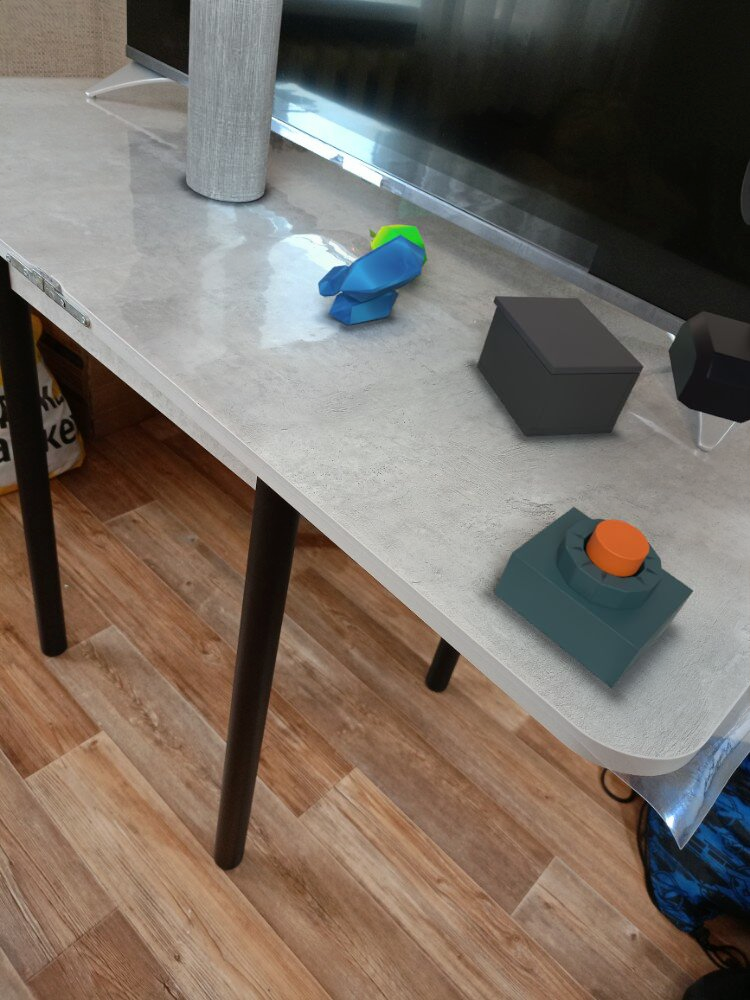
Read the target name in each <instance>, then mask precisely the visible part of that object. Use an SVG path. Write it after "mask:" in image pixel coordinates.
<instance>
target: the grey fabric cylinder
mask: <svg viewBox="0 0 750 1000" xmlns="http://www.w3.org/2000/svg"><path fill="white" fill-rule="evenodd" d="M189 1H190V2H189V35H188V36H189V40H188V41H189V42H188V43H189V44H188V47H189V48H188V78H187V79H188V80H187V81H188V82H187V119H186V122H187V123H186V125H187V126H186V163H185V173H186V174H185V177H186V178H185V179H186V180H185V181H186V184H187V186H188V187H189V188H191V190H192V191H194V192H195V193H197V194H198V195H200V196H203V197H205V198H209V199H211V200H215V201H220V202H225V203H248V202H254V201H256V200H258V199H260V198H261V197H263V196H264V194H265V190H266V184H267V174H268V162H269V152H270V143H271V142H270V141H271V133H272V131H271V130H272V121H273V110H274V109H273V108H274V100H275V99H274V98H275V89H276V87H275V86H276V80H277V79H276V78H277V69H278V68H277V67H278V57H279V56H278V55H279V47H280V45H279V44H280V35H281V25H282V15H283V4H284V0H189Z"/></svg>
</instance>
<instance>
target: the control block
mask: <svg viewBox="0 0 750 1000" xmlns="http://www.w3.org/2000/svg"><path fill="white" fill-rule="evenodd" d="M605 520H606V519H604V518H594V519H593V518H591V517H589V515H586V514H585V513H584V512H583V511H581V510H580V509H578V508H577V507H575V506H572V507H571V508H570V509H568V510H567V511H566V512H565V513H563V514H562V515H561V516H559V517H558V518H557V519H555V520H554V521H553V522H551V523H550V524H548V525H547V526H546V527H544V528H543V529H542V530H540V531H539V532H538V533H536V534H535V535H534V536H532V537H531V538H530V539H528V540H527V541H526V542H524V543H523V544H522V545H520V546H519V547H517V549H515V550H514V551H512V552H511V554H510V557H509V559H508V560H507V562H506V565H505V567H504V569H503V572H502V574H501V576H500V579H499V580H498V582H497V585H496V587H495V590H494V591H493V593H494V595H496V596H497V597H499V599H501V600H502V601H503V602H504V603H506V604H507V605H508V606H509V607H510V608H512V609H513V610H515V611H516V612H517V613H518V614H519V615H521V616H522V617H523V618H524V619H525V620H527V621H528V622H529V623H531V624H532V625H533V626H534V627H535V628H536V629H538V630H539V631H541V632H542V633H543V634H544V635H545V636H547V637H548V638H549V639H550V640H551V641H553V642H554V643H555V644H557V645H558V646H559V647H561V648H562V649H563V650H564V651H565V652H566V653H567V654H569V655H570V656H571V657H573V658H574V659H575V660H576V661H578V663H580V664H582V665H583V666H584V667H585V668H586V669H587V670H589V671H590V672H591V673H592V674H594V675H595V676H596V677H597V678H599V679H600V680H601V681H603V682H604V683H605V684H606V685H607V686H609V687H610V688H611V689H612V688H614V687H615V686H616V685H617V683H618V682H619V681H620V680H621V679H622V678H623V677H624V676H625V675H626V673H627V672H628V671H630V669H631V668H632V667H633V666H634V665H635V664H636V663H637V662H638V661H639V659H640V658H642V656H644V654H645V653H646V652H647V651H648V650H649V649H650V647H652V645H654V643H655V642H656V641H657V640H658V638H659V637H660V636H661V635H662V634H663V633H664V632H665V631H666V630H667V629H668V627H669V626H670V624H671V623H672V622H673V620H674V619H675V617H676V616H677V615H678V614H679V612H680V611H681V609H682V608H683V607H684V605H685V604H686V602H687V601H688V599H690V596H691V595H692V594H693V592H694V590H693V588H691V587H689V586H688V585H686V584H685V583H684V582H683V581H681V580H680V579H678V578H677V577H675V576H674V575H672V574H671V573H670V572H668V571H667V570H665V569H664V568H663V567H662V559H661V558H660V555H658V553H657V552H656V550H654V548H653V547H652V545H651V543H650V542H649V541H648V543H649V553H648V555H647V556H646V558H645V559H644V561H643V563H642V564H641V566H640V567H639V569H638V571H637V572H636V573H635V574H633V575H631V576H627V577H619V576H615V575H611V574H608V573H606V572H604V571H603V570H601V569H600V568H598V567H597V566H596V565H594V564H593V562H592V561H591V560H590V559H589V557H588V554H587V551H586V547H587V543H588V541H589V540H590V538H591V536H592V534H593V532H594V530H595V528H596V527H597V525H598V524H599V523H601V522H602V521H605Z"/></svg>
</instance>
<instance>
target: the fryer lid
mask: <svg viewBox="0 0 750 1000" xmlns="http://www.w3.org/2000/svg"><path fill="white" fill-rule="evenodd" d="M493 304H494V305H495V306H496V307H498V309H499V310H500V311H501V312H502V314H503V315H504V316H505V317H506V318H507V320H508V321H509V322H510V323H511V325H512V326H513V327H514V328H515V330H516V331H517V332H518V333H519V335H520V336H521V337H522V338H523V340H524V341H525V342H526V343H527V344H528V346H529V347H530V348H531V349H532V351H533V352H534V353H535V354H536V356H537V357H538V358H539V359H540V361H541V362H542V363H543V364H544V366H545V367H546V368H547V369H548V370H549V372H550V373H551V374H586V373H640V374H641V373H642V371H643V369H644V365H643V364H642V363H641V362H640V361H639V360H638V359H637V358H636V357H635V356H634V355H633V354H632V352H630V351H629V349H628V348H627V347H626V346H625V345H623V343H622V342H621V341H620V340H619V339H618V338H617V337H616V335H614V334H613V333H612V332H611V331H610V330H609V329H608V328H607V326H605V325H604V324H603V323H602V321H601V320H600V319H599V318H597V316H595V314H594V313H593V312H592V311H591V310H590V309H589V308H588V306H587V305H585V304H584V303H583V302H582V301H581V300H580V299H579V298H578V297H543V296H542V297H541V296H509V295H507V296H505V295H495V297H494V299H493Z"/></svg>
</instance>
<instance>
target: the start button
mask: <svg viewBox="0 0 750 1000" xmlns="http://www.w3.org/2000/svg"><path fill="white" fill-rule="evenodd" d="M604 520H605V521H602V522H601V523H599V524H598V525H597V527H596V528H595V530H594V532H593V534H592V536H591V538H590V540H589V541H588V543H587V547H586V551H587V554H588V557H589V559H590V560H591V561H592V562H593V564H594V565H596V566H597V567H598V568H600V569H601V570H603V571H604V572H606V573H608V574H611V575H615V576H619V577H627V576H631V575H633V574H635V573H636V572H637V571H638V569H639V567H640V566H641V564H642V563H643V561H644V559H645V558H646V556H647V555H648V553H649V544H650V542H649V541H648V539H647V537H646V536H645V534H643V533H642V531H641V530H639V529H638V528H637V527H635V526H634V525H632V524H630V523H628V522H626V521H622V520H619V519H604ZM648 542H649V543H648Z"/></svg>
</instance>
